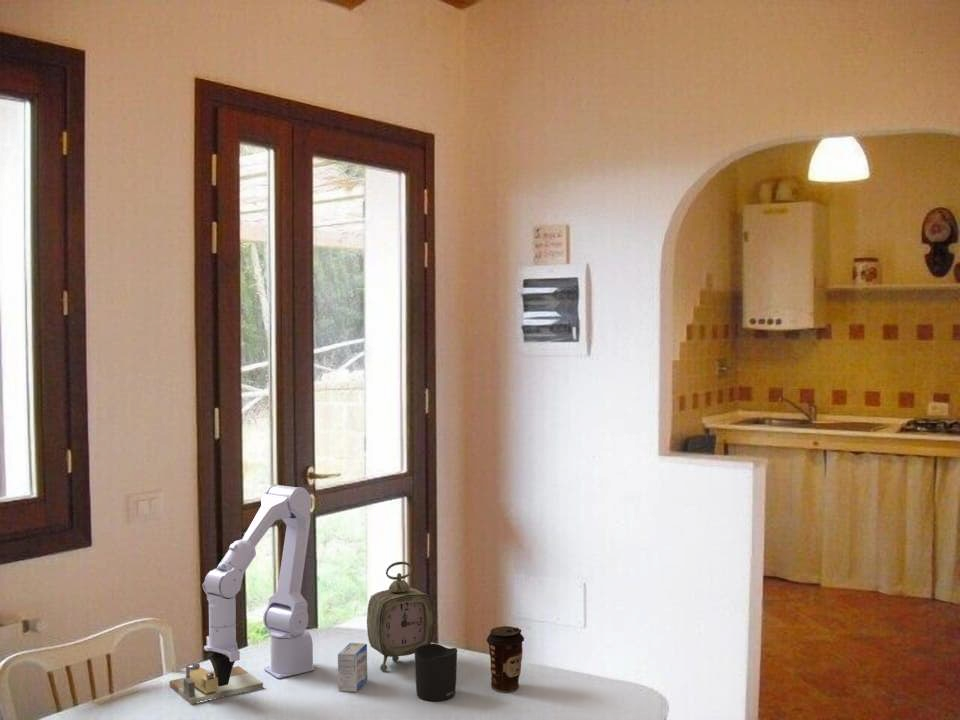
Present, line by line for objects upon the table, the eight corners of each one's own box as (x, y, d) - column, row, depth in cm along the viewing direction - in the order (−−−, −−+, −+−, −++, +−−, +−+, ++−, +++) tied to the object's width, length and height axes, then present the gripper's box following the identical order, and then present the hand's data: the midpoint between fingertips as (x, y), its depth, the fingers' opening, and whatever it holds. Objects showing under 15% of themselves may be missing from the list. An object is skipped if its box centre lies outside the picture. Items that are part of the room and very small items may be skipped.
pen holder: (419, 704, 205) (419, 658, 204) (411, 689, 214) (410, 645, 213) (461, 700, 207) (461, 654, 207) (451, 685, 216) (451, 641, 216)
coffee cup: (530, 684, 216) (530, 627, 216) (516, 696, 209) (516, 638, 209) (495, 678, 220) (495, 623, 220) (480, 690, 213) (480, 633, 212)
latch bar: (183, 679, 215) (183, 663, 215) (196, 676, 217) (196, 660, 217) (205, 693, 207) (205, 677, 207) (218, 690, 209) (218, 673, 209)
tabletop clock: (379, 675, 223) (378, 569, 222) (364, 663, 231) (363, 561, 230) (434, 664, 230) (433, 561, 230) (417, 653, 238) (417, 554, 237)
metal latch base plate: (238, 670, 226) (238, 653, 226) (263, 688, 215) (262, 669, 215) (169, 686, 216) (169, 667, 216) (191, 704, 205) (191, 685, 205)
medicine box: (356, 692, 212) (356, 654, 212) (337, 691, 213) (337, 653, 212) (367, 680, 220) (367, 643, 219) (349, 679, 220) (349, 642, 220)
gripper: (193, 619, 213) (193, 679, 214) (217, 635, 202) (217, 698, 202) (223, 614, 218) (223, 672, 218) (248, 629, 206) (249, 691, 206)
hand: (223, 684), depth 210 cm, fingers closed, pressing on latch bar
